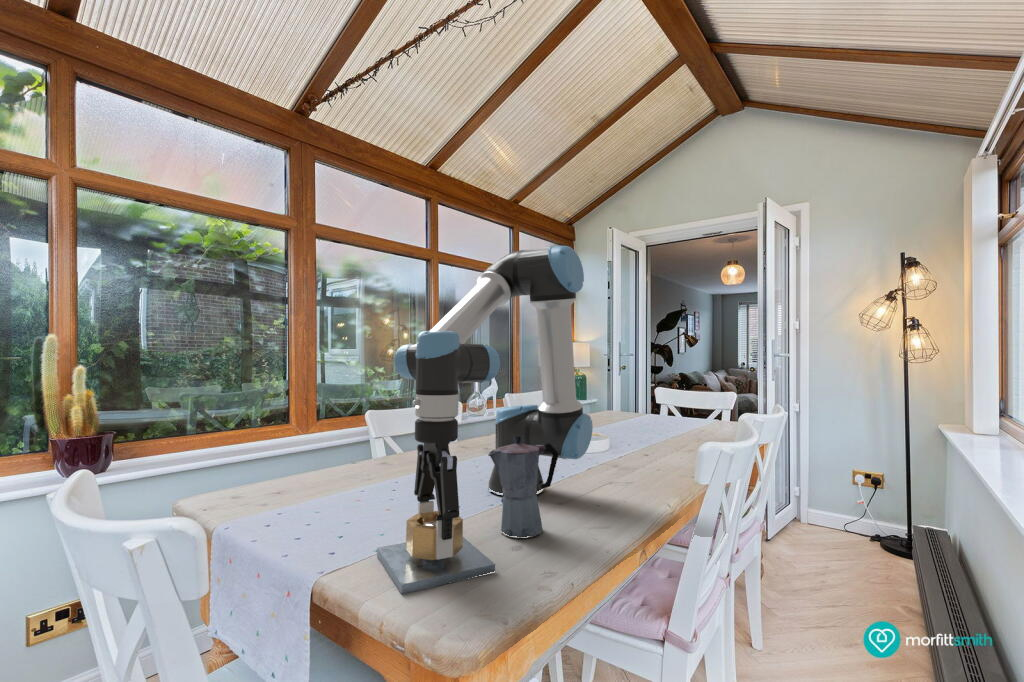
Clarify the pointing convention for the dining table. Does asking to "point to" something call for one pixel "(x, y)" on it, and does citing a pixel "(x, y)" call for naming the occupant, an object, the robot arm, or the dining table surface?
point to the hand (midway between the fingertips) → (434, 547)
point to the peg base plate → (432, 566)
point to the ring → (429, 536)
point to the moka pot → (521, 485)
